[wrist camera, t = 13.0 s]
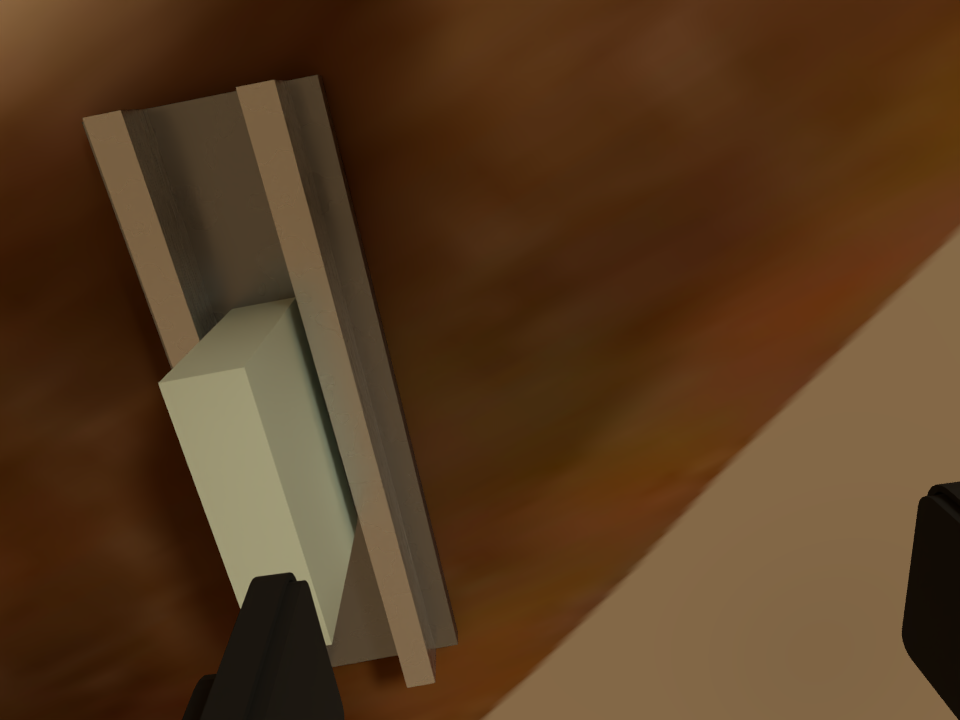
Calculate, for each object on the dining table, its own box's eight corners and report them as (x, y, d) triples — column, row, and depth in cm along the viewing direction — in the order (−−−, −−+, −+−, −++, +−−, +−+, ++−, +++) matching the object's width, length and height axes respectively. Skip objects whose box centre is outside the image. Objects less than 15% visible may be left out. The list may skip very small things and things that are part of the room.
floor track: (92, 121, 31) (50, 124, 27) (321, 75, 31) (306, 73, 27) (286, 662, 41) (272, 712, 38) (457, 631, 41) (458, 678, 38)
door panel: (231, 309, 33) (157, 382, 24) (296, 297, 33) (244, 367, 24) (300, 529, 37) (258, 657, 29) (357, 518, 37) (331, 644, 29)
